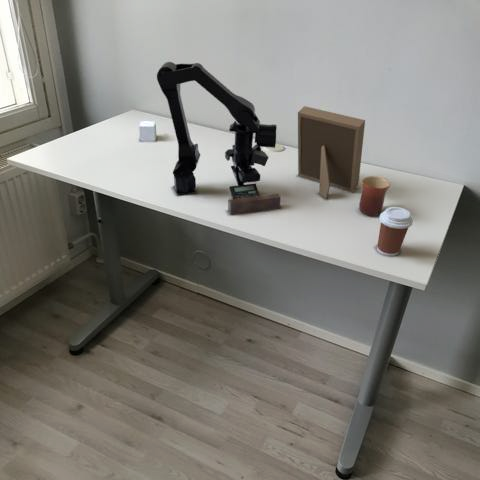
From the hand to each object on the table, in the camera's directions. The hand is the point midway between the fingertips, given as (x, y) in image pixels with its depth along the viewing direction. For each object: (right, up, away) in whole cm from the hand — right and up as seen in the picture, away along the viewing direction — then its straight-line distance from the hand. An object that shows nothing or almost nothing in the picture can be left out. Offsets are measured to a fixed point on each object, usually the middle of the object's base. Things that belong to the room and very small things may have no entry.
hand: (240, 188), depth 167 cm
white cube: (-38, +30, +36) cm, 61 cm away
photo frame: (+28, +2, +6) cm, 29 cm away
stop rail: (+4, -9, -9) cm, 14 cm away
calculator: (+2, -5, -3) cm, 6 cm away
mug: (+43, -9, -6) cm, 45 cm away
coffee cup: (+43, -25, -25) cm, 55 cm away
